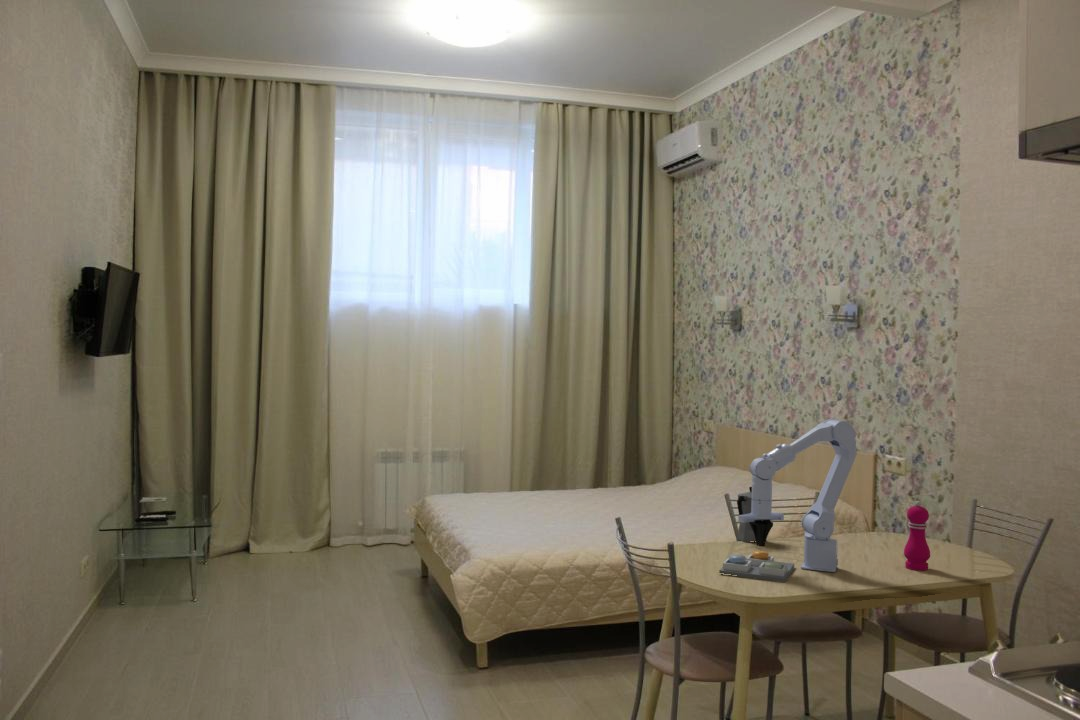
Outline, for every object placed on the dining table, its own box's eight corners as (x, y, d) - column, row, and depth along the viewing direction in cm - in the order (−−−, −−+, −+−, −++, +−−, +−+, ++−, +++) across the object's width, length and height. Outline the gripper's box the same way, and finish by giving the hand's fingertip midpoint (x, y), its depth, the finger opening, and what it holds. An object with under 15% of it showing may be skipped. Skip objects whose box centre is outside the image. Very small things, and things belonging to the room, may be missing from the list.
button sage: (782, 569, 246) (782, 563, 246) (780, 572, 242) (780, 566, 242) (765, 567, 248) (766, 561, 248) (763, 570, 244) (763, 564, 244)
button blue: (746, 561, 250) (746, 555, 250) (743, 565, 246) (743, 559, 246) (730, 559, 252) (730, 554, 252) (727, 563, 248) (727, 557, 248)
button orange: (769, 557, 256) (769, 551, 256) (767, 560, 252) (767, 554, 252) (753, 555, 258) (753, 549, 258) (750, 558, 254) (751, 553, 254)
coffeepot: (747, 535, 303) (748, 483, 303) (772, 539, 296) (773, 486, 296) (724, 541, 291) (725, 487, 291) (750, 545, 285) (751, 490, 285)
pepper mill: (935, 569, 257) (936, 502, 257) (919, 572, 253) (920, 503, 253) (914, 564, 263) (915, 498, 263) (898, 566, 260) (899, 499, 260)
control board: (794, 567, 256) (794, 557, 256) (784, 582, 239) (785, 571, 239) (732, 560, 263) (732, 550, 263) (719, 574, 246) (719, 563, 246)
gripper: (773, 496, 261) (772, 541, 261) (732, 498, 256) (731, 544, 256) (788, 500, 255) (787, 546, 255) (746, 502, 249) (745, 549, 249)
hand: (760, 545), depth 255 cm, fingers closed
